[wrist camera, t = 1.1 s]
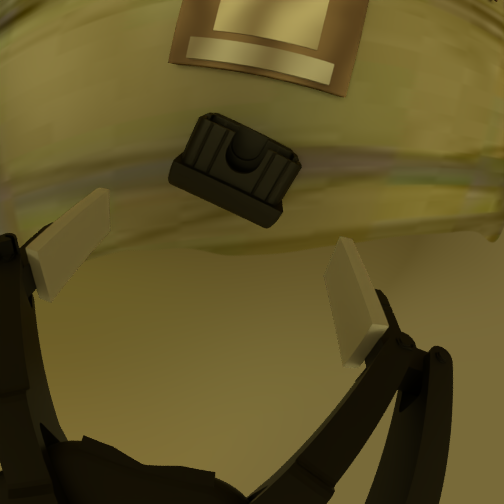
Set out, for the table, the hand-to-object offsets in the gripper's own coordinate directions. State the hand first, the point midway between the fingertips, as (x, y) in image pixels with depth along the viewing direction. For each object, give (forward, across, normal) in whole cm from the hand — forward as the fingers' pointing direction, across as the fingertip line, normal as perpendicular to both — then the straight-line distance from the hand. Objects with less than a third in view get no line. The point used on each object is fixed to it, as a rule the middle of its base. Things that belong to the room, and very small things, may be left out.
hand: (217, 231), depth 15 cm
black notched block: (+15, 0, 0) cm, 15 cm away
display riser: (+15, 0, +18) cm, 23 cm away
